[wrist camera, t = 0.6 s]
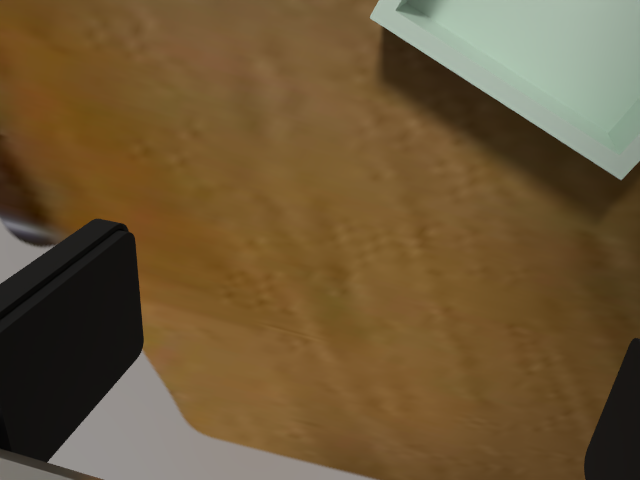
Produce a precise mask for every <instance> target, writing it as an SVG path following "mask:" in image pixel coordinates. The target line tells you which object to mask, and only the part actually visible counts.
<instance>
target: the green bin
mask: <svg viewBox="0 0 640 480" xmlns="http://www.w3.org/2000/svg"><path fill="white" fill-rule="evenodd" d="M370 18H371V19H372V20H374V21H375V22H377V23H378V24H380V25H381V26H383V27H385V28H386V29H388V30H389V31H391V32H392V33H394V34H395V35H397V36H399V37H400V38H402V39H403V40H405V41H406V42H408V43H409V44H411V45H412V46H414V47H416V48H417V49H419V50H420V51H422V52H423V53H425V54H426V55H428V56H429V57H431V58H433V59H434V60H436V61H437V62H439V63H440V64H442V65H443V66H445V67H447V68H448V69H450V70H451V71H453V72H454V73H456V74H457V75H459V76H460V77H462V78H464V79H465V80H467V81H468V82H470V83H471V84H473V85H474V86H476V87H477V88H479V89H481V90H482V91H484V92H485V93H487V94H488V95H490V96H491V97H493V98H495V99H496V100H498V101H499V102H501V103H502V104H504V105H505V106H507V107H508V108H510V109H512V110H513V111H515V112H516V113H518V114H519V115H521V116H522V117H524V118H525V119H527V120H529V121H530V122H532V123H533V124H535V125H536V126H538V127H539V128H541V129H543V130H544V131H546V132H547V133H549V134H550V135H552V136H553V137H555V138H556V139H558V140H560V141H561V142H563V143H564V144H566V145H567V146H569V147H570V148H572V149H574V150H575V151H577V152H578V153H580V154H581V155H583V156H584V157H586V158H587V159H589V160H591V161H592V162H594V163H595V164H597V165H598V166H600V167H601V168H603V169H604V170H606V171H608V172H609V173H611V174H612V175H614V176H615V177H617V178H618V179H620V180H622V179H623V178H624V177H625V176H626V175H627V174H628V173H629V172H630V171H631V170H632V168H633V167H634V166H635V165H636V164H637V163H638V162H639V161H640V0H379V2H378V3H377V5H376V7H375V9H374V10H373V12H372V14H371V16H370Z"/></svg>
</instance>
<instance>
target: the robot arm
mask: <svg viewBox="0 0 640 480" xmlns="http://www.w3.org/2000/svg"><path fill="white" fill-rule="evenodd" d="M143 343H144V338H143V326H142V314H141V303H140V291H139V279H138V268H137V256H136V244H135V237H134V235H133V234H132V233H130V232H129V231H128V228H127V227H126V225H124V224H122V223H117V222H112V221H107V220H102V219H94V220H92V221H91V222H89V223H88V224H86V225H85V226H83V227H82V228H80V229H79V230H78V231H76V232H75V233H73V234H72V235H70V236H69V237H67V238H66V239H65V240H63V241H62V242H60V243H59V244H57V245H56V246H55V247H53V248H52V249H50V250H49V251H47V252H46V253H45V254H43V255H42V256H40V257H39V258H37V259H36V260H34V261H33V262H31V263H30V264H29V265H27V266H26V267H25V268H23V269H22V270H20V271H19V272H17V273H16V274H14V275H13V276H11V277H10V278H8V279H7V280H6V281H4V282H3V283H1V284H0V480H103V479H100V478H97V477H93V476H90V475H86V474H83V473H79V472H77V471H73V470H70V469H66V468H63V467H60V466H56V465H53V464H49V463H47V462H48V461H49V459H50V458H51V457H52V456H53V455H54V454H55V453H56V451H57V450H58V449H59V448H60V447H61V446H62V445H63V443H64V442H65V441H66V440H67V439H68V437H69V436H70V435H71V434H72V433H73V432H74V431H75V430H76V428H77V427H78V426H79V425H80V424H81V422H82V421H83V420H84V419H85V418H86V417H87V416H88V415H89V413H90V412H91V411H92V410H93V409H94V408H95V406H96V405H97V404H98V403H99V402H100V401H101V400H102V398H103V397H104V396H105V395H106V394H107V393H108V391H109V390H110V389H111V388H112V387H113V386H114V384H115V383H116V382H117V381H118V380H119V379H120V378H121V376H122V375H123V374H124V373H125V372H126V370H128V368H129V367H130V366H131V365H132V364H133V363H134V361H135V360H136V359H137V358H138V357H139V355H140V353H141V351H142V348H143ZM584 471H585V479H586V480H640V339H638V338H634V339H633V340H632V341H631V343H630V345H629V347H628V350H627V352H626V355H625V357H624V360H623V362H622V365H621V367H620V370H619V372H618V375H617V377H616V380H615V382H614V384H613V387H612V389H611V392H610V394H609V397H608V399H607V402H606V404H605V407H604V409H603V412H602V414H601V417H600V419H599V422H598V424H597V426H596V429H595V431H594V434H593V436H592V439H591V441H590V444H589V446H588V449H587V452H586V456H585V463H584Z"/></svg>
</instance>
